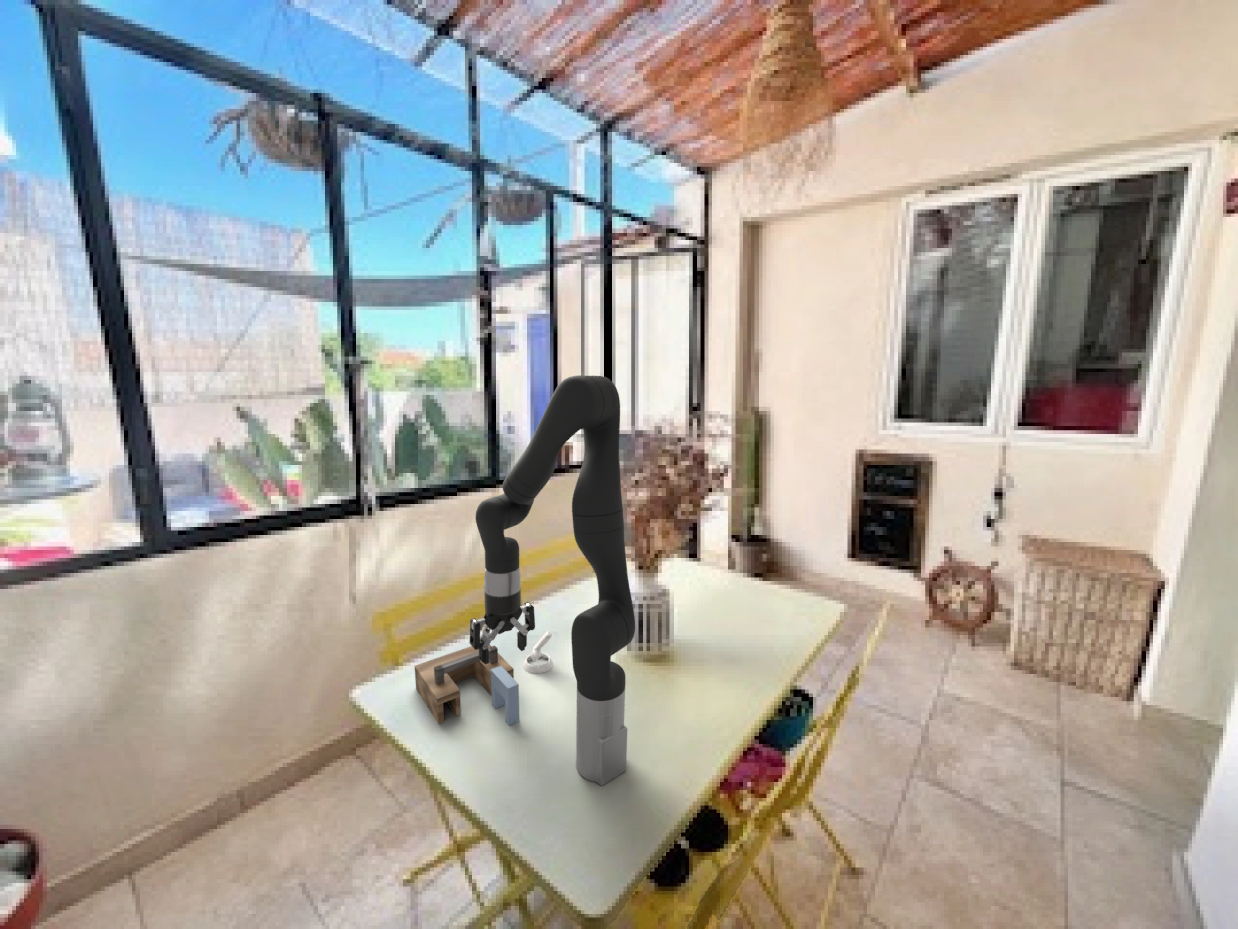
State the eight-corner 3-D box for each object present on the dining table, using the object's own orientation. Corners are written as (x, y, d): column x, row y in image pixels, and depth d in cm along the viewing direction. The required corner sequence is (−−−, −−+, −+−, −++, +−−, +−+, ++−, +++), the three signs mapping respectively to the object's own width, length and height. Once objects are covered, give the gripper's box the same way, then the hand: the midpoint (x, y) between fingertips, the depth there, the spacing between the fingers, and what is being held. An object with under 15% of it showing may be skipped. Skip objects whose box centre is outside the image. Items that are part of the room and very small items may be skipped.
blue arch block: (519, 720, 110) (518, 684, 108) (508, 725, 109) (507, 688, 107) (501, 700, 117) (500, 665, 115) (491, 705, 115) (490, 669, 113)
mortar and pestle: (569, 656, 126) (546, 645, 123) (542, 686, 129) (519, 676, 127) (569, 635, 132) (547, 623, 130) (543, 664, 136) (521, 653, 133)
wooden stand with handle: (513, 691, 120) (513, 655, 118) (438, 723, 109) (436, 684, 107) (486, 661, 131) (485, 628, 129) (416, 688, 120) (413, 652, 118)
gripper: (478, 603, 99) (479, 676, 103) (541, 584, 108) (540, 652, 111) (463, 589, 105) (465, 658, 108) (524, 572, 114) (524, 637, 117)
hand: (503, 655), depth 110 cm, fingers open, 8 cm apart
